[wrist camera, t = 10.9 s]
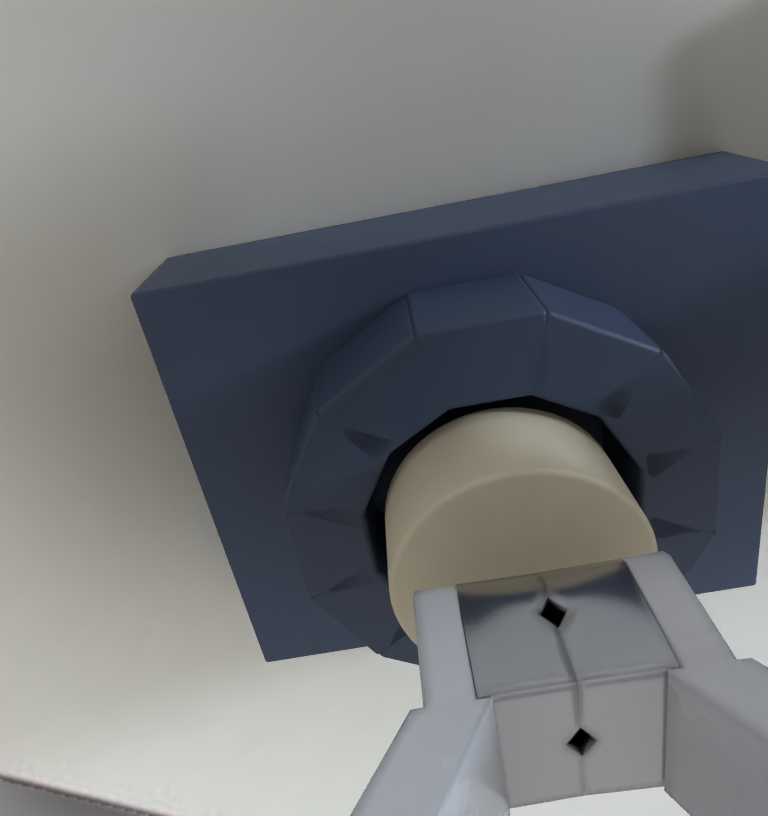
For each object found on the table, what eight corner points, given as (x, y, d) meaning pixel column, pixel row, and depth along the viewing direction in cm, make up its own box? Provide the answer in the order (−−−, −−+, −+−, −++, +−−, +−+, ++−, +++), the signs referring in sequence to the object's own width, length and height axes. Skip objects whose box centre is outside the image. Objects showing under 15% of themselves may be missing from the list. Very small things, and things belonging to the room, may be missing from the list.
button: (364, 428, 10) (365, 498, 8) (612, 384, 9) (662, 447, 8) (405, 610, 11) (412, 697, 10) (617, 576, 11) (659, 659, 10)
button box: (166, 258, 12) (84, 338, 8) (724, 150, 12) (888, 188, 8) (277, 588, 16) (253, 742, 12) (705, 518, 15) (812, 657, 12)
